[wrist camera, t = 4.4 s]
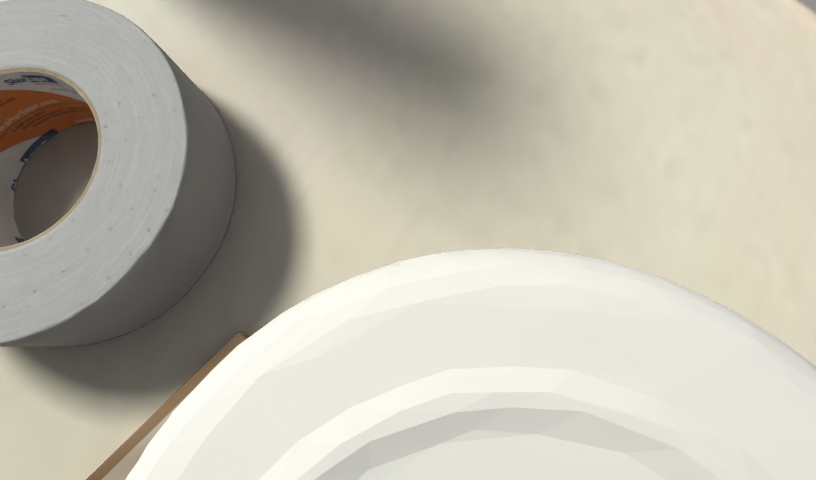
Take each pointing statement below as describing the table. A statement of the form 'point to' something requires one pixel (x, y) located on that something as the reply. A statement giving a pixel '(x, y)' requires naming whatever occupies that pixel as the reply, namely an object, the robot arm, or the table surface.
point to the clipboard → (157, 421)
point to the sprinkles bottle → (498, 382)
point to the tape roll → (105, 175)
